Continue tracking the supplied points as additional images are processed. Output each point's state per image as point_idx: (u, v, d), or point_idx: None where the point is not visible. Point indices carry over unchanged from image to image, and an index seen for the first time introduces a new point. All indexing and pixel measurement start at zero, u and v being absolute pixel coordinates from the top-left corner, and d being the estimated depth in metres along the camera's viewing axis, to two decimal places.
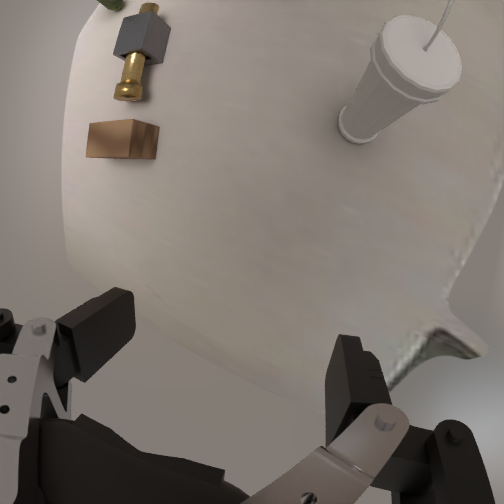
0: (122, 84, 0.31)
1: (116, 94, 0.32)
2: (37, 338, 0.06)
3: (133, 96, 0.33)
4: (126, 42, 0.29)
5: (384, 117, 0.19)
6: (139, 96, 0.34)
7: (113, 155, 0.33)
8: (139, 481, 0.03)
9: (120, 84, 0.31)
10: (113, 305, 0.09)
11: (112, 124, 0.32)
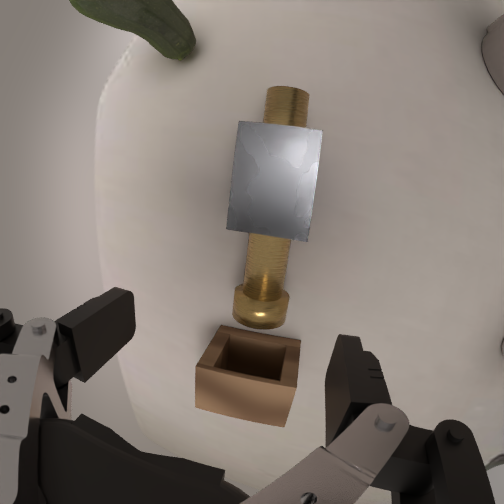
0: (260, 308, 0.20)
1: (247, 324, 0.20)
2: (37, 338, 0.06)
3: None
4: (261, 207, 0.18)
5: None
6: None
7: (255, 420, 0.21)
8: (139, 481, 0.03)
9: (255, 307, 0.20)
10: (113, 305, 0.09)
11: (251, 384, 0.20)
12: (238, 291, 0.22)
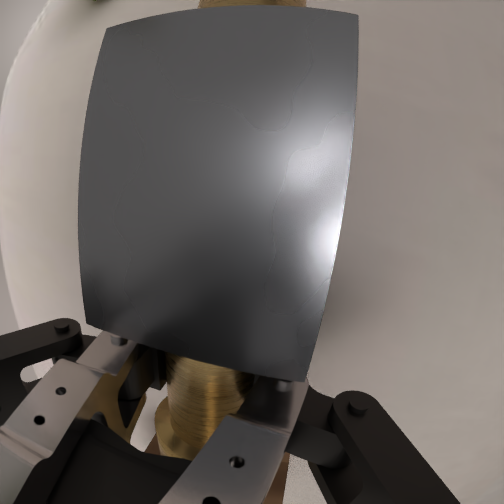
0: None
1: None
2: (123, 350, 0.07)
3: None
4: (157, 277, 0.05)
5: None
6: None
7: None
8: (139, 481, 0.03)
9: None
10: None
11: None
12: (161, 416, 0.09)
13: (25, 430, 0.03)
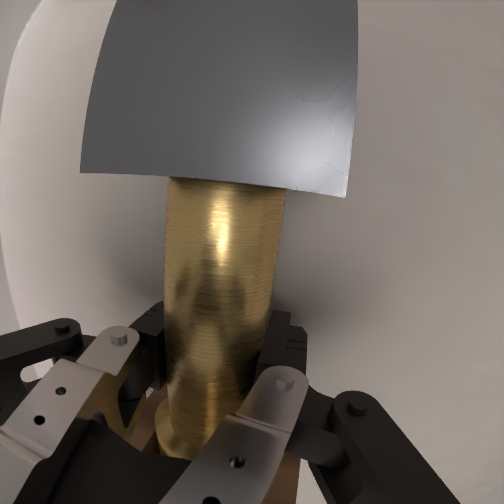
0: None
1: None
2: (123, 350, 0.07)
3: None
4: (174, 85, 0.04)
5: None
6: None
7: None
8: (139, 481, 0.03)
9: None
10: None
11: None
12: (162, 416, 0.09)
13: (25, 430, 0.03)
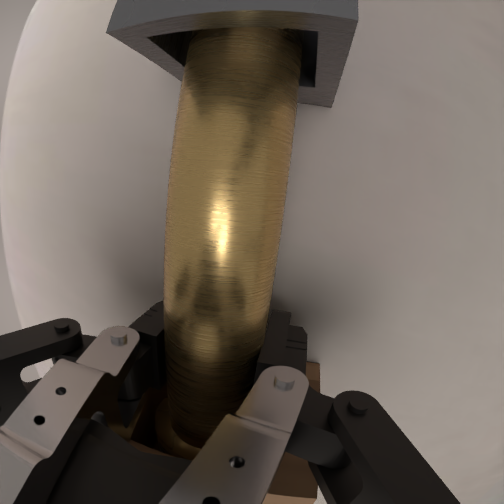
0: None
1: None
2: (123, 350, 0.07)
3: None
4: None
5: None
6: None
7: None
8: (139, 481, 0.03)
9: None
10: None
11: None
12: (161, 416, 0.09)
13: (25, 430, 0.03)
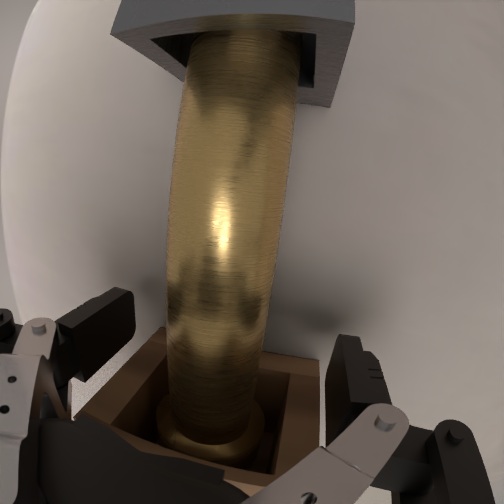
0: None
1: None
2: (37, 338, 0.06)
3: None
4: None
5: None
6: None
7: None
8: (139, 481, 0.03)
9: None
10: (113, 305, 0.09)
11: None
12: (163, 412, 0.09)
13: None
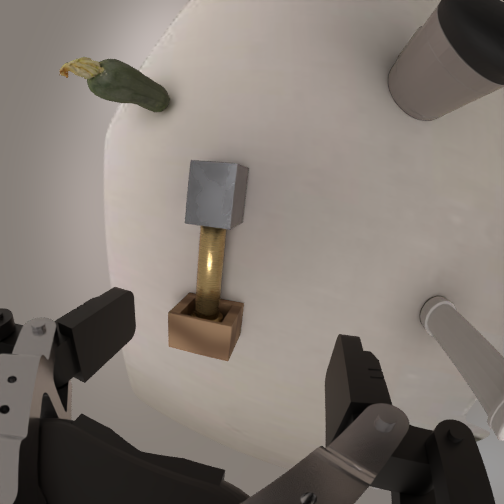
0: None
1: None
2: (37, 338, 0.06)
3: None
4: (203, 210, 0.30)
5: None
6: None
7: (208, 355, 0.34)
8: (139, 481, 0.03)
9: None
10: (113, 305, 0.09)
11: (203, 324, 0.33)
12: (192, 314, 0.36)
13: None
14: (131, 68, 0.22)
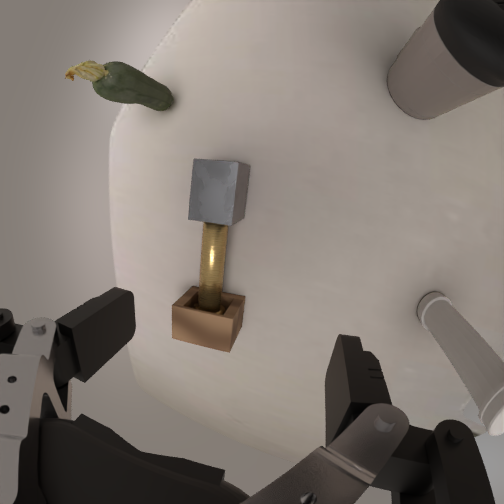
0: None
1: None
2: (37, 338, 0.06)
3: None
4: (206, 207, 0.32)
5: None
6: None
7: (210, 346, 0.35)
8: (139, 481, 0.03)
9: None
10: (113, 305, 0.09)
11: (205, 316, 0.34)
12: (195, 307, 0.37)
13: None
14: (135, 70, 0.23)
